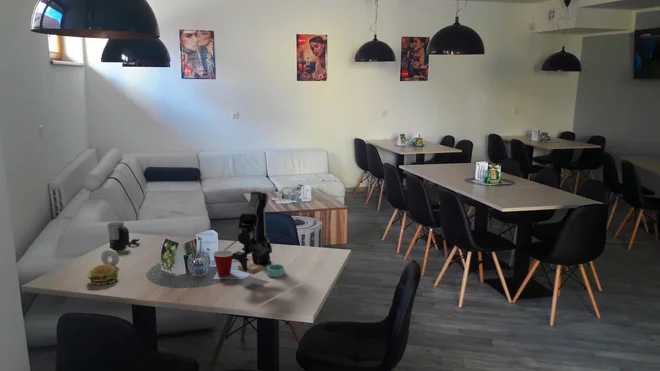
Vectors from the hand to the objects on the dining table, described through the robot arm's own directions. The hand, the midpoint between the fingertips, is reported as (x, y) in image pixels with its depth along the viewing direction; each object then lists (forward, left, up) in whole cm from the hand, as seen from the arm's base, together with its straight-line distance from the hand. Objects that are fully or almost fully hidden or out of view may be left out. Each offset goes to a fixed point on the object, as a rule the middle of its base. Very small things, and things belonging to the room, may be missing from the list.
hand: (250, 268), depth 238 cm
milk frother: (-103, +1, -8) cm, 103 cm away
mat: (0, 0, -8) cm, 8 cm away
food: (-63, -38, -8) cm, 74 cm away
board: (0, 0, -1) cm, 1 cm away
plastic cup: (-19, +1, -8) cm, 21 cm away
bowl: (+3, +15, -8) cm, 17 cm away
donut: (-78, -24, -8) cm, 82 cm away
